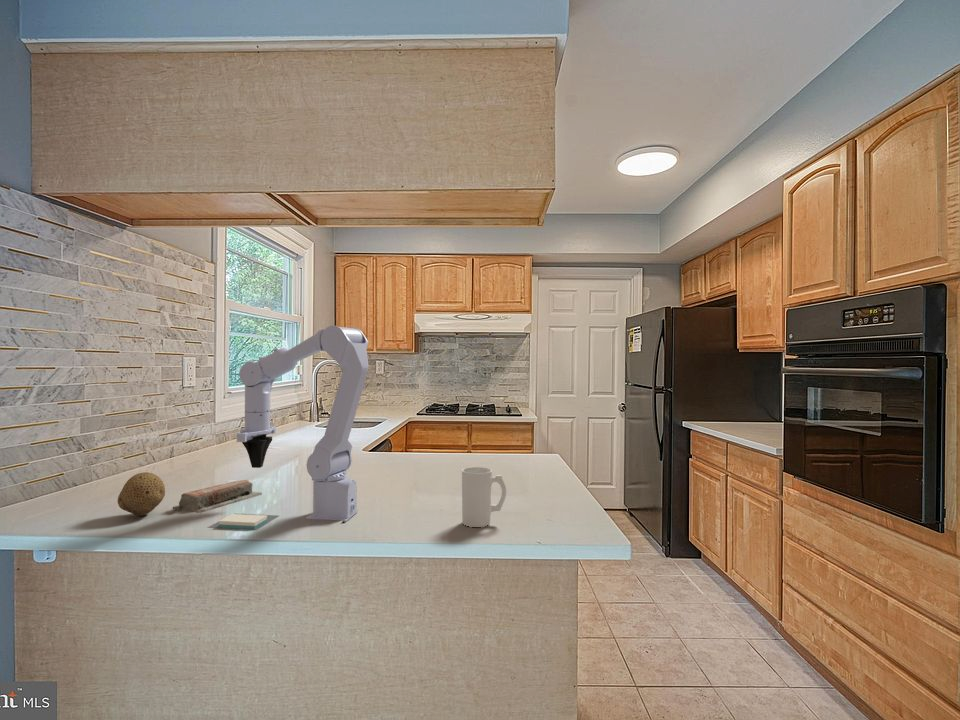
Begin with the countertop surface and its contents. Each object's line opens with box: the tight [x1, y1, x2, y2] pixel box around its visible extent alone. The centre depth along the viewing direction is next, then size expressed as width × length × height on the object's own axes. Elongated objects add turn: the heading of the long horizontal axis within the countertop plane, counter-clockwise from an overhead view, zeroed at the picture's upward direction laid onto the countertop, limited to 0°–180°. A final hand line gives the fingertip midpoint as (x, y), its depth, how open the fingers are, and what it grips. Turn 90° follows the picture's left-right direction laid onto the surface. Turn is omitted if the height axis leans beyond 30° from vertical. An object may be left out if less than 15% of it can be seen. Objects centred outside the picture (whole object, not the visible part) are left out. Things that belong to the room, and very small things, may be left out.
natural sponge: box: [117, 471, 166, 517], centre depth 121 cm, size 9×9×10 cm
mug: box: [461, 466, 507, 528], centre depth 118 cm, size 10×7×12 cm, turn 92°
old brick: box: [172, 479, 263, 513], centre depth 132 cm, size 18×5×10 cm
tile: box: [218, 513, 267, 530], centre depth 114 cm, size 8×1×5 cm
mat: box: [207, 513, 280, 531], centre depth 116 cm, size 11×10×1 cm
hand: (257, 467), depth 128 cm, fingers closed
